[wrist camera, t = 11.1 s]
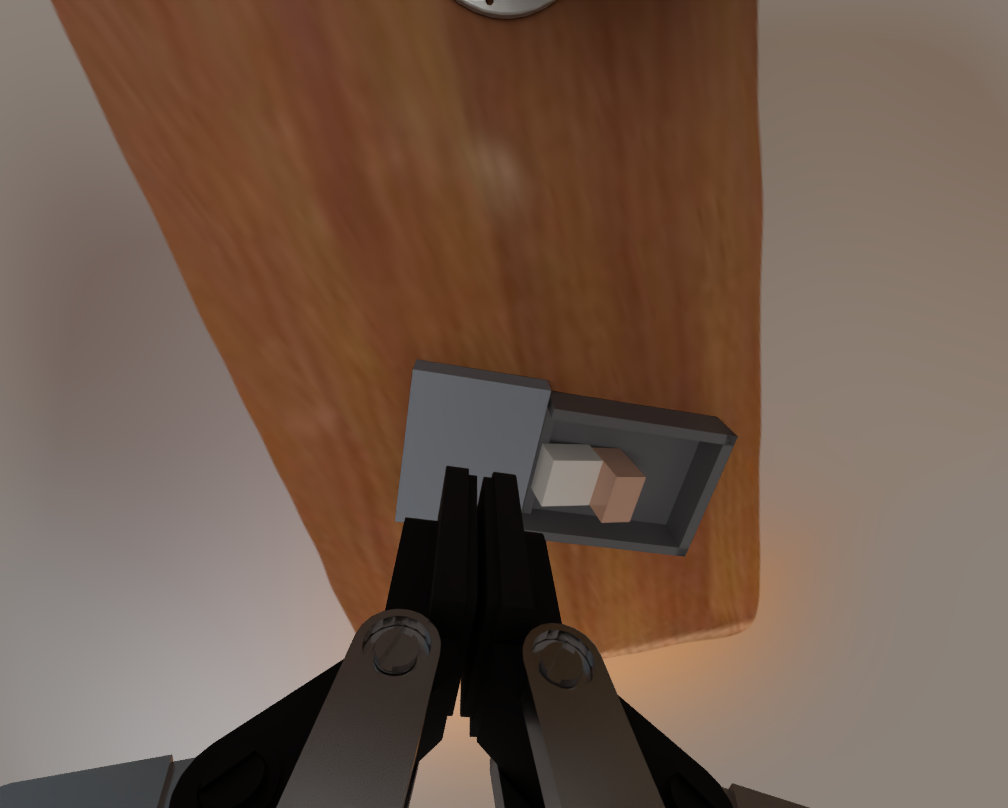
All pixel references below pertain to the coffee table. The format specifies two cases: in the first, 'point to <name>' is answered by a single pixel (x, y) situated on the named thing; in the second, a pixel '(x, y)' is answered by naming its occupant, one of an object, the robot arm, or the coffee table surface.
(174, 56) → the coffee table surface
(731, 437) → the box
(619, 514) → the tile
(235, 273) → the coffee table surface
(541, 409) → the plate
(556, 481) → the tile
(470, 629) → the robot arm
